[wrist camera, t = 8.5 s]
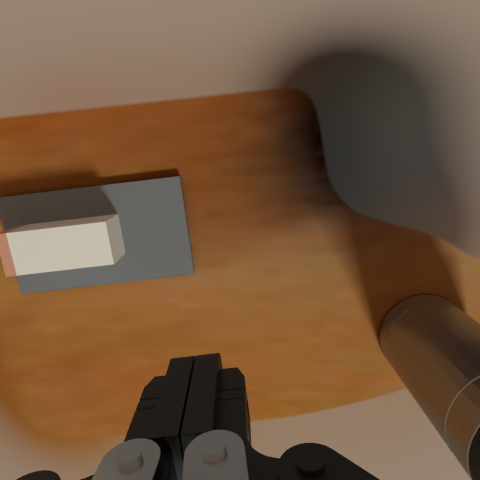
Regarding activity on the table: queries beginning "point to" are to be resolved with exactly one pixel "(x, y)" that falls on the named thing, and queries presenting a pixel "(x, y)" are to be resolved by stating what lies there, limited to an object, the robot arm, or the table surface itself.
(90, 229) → the cream block
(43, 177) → the table surface
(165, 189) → the slate mat
